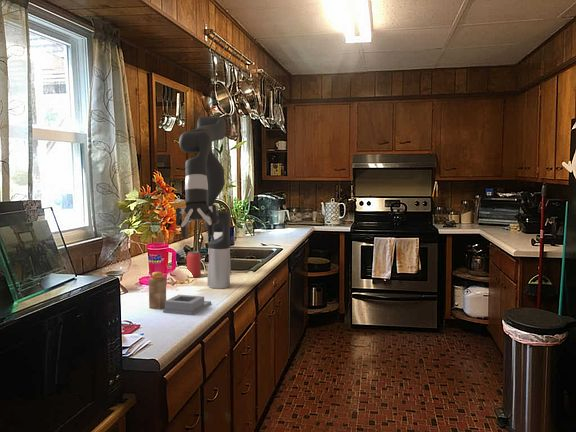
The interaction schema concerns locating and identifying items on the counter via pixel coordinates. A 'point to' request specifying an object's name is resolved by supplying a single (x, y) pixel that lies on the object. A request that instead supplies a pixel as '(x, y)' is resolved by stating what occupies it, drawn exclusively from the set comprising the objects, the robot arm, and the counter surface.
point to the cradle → (185, 304)
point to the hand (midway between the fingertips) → (197, 237)
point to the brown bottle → (157, 291)
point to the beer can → (194, 263)
